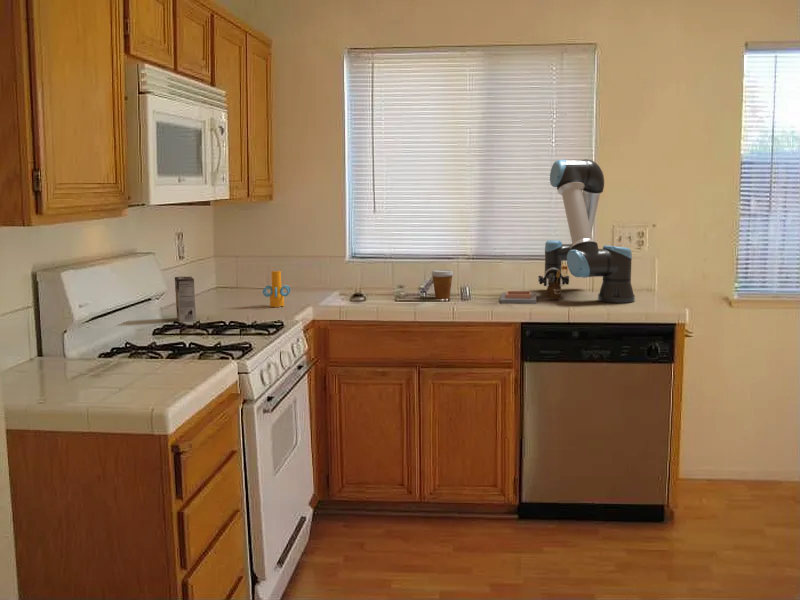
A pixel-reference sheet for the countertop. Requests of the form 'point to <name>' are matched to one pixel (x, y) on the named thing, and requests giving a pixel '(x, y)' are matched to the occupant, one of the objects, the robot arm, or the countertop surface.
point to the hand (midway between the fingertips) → (554, 283)
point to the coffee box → (185, 298)
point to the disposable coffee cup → (442, 283)
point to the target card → (518, 297)
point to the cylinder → (276, 290)
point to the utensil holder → (554, 288)
